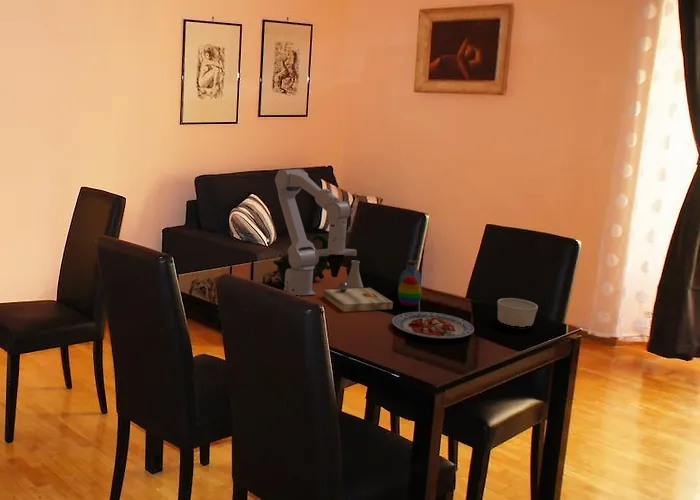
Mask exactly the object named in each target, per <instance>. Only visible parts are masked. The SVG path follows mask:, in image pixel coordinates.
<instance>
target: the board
mask: <svg viewBox="0 0 700 500" xmlns="http://www.w3.org/2000/svg"><path fill="white" fill-rule="evenodd" d="M368 293H371V294H373V295H374V297H365V296H366V294H368ZM322 297H323V298H325V299H326V300H327V301H329V303H332V304H333V305H334V306H336V307H337V308H338V309H339V310H341V312H343V313H344V312H360V311H362V312H363V311H381V310H382V311H383V310H392V309H393V306H394V305H393V304H394V302H393V301H392V300H390V299H389V298H387V297H386V296H384V295H382V294H381V293H379V292H378V291H377V290H375V289H373V288H372V287H363V288H354V289H347V290H346V291H344V292H343V291H340V289H339V288H334V289H323V296H322Z"/></svg>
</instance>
